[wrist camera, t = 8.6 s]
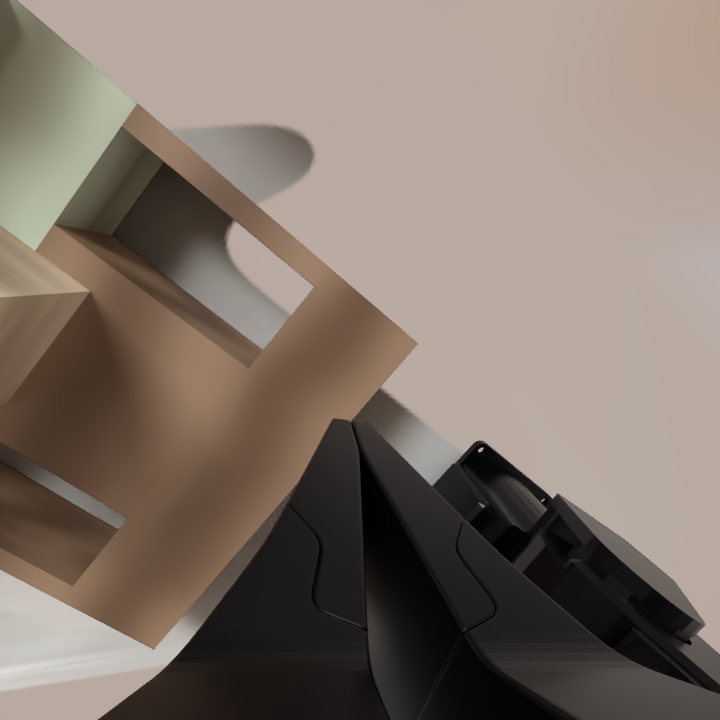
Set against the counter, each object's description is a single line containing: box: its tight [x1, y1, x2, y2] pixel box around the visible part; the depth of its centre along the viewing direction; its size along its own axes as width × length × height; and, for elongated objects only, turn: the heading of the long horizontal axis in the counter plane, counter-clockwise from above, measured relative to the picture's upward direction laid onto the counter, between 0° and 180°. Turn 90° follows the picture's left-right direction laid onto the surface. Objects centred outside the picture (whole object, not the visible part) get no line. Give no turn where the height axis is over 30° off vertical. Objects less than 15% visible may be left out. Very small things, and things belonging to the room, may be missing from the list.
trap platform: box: [0, 0, 418, 649], centre depth 17 cm, size 20×20×6 cm
